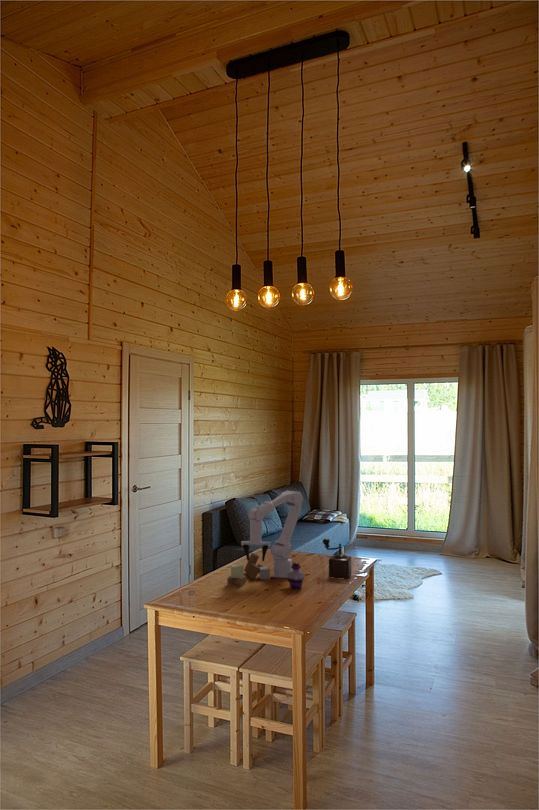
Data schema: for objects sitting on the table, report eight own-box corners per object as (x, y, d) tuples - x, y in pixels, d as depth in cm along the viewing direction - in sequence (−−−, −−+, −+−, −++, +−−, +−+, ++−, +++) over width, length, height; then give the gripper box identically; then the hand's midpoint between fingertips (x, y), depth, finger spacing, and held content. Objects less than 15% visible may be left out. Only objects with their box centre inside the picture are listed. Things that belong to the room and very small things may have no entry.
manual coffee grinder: (352, 574, 282) (352, 539, 283) (348, 579, 272) (348, 543, 273) (323, 571, 287) (323, 537, 288) (318, 576, 277) (318, 541, 278)
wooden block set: (256, 584, 271) (265, 565, 271) (241, 577, 272) (249, 558, 272) (260, 573, 289) (267, 556, 289) (245, 566, 290) (253, 549, 290)
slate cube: (269, 576, 277) (269, 566, 277) (269, 579, 272) (270, 569, 272) (259, 576, 277) (259, 566, 277) (260, 579, 272) (260, 569, 272)
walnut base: (245, 583, 264) (246, 575, 264) (241, 587, 258) (241, 579, 258) (232, 582, 266) (232, 574, 267) (227, 586, 260) (227, 578, 260)
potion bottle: (286, 585, 261) (286, 560, 262) (304, 585, 261) (304, 560, 262) (287, 590, 252) (287, 564, 253) (305, 590, 252) (305, 564, 253)
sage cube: (243, 575, 265) (243, 565, 265) (241, 578, 260) (241, 567, 260) (233, 575, 266) (233, 564, 266) (231, 577, 261) (231, 567, 261)
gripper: (240, 533, 266) (239, 561, 266) (268, 534, 264) (268, 562, 263) (242, 531, 273) (242, 558, 273) (271, 532, 271) (271, 559, 270)
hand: (255, 560), depth 268 cm, fingers open, 7 cm apart
